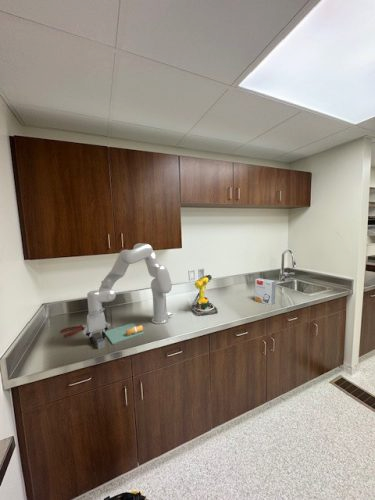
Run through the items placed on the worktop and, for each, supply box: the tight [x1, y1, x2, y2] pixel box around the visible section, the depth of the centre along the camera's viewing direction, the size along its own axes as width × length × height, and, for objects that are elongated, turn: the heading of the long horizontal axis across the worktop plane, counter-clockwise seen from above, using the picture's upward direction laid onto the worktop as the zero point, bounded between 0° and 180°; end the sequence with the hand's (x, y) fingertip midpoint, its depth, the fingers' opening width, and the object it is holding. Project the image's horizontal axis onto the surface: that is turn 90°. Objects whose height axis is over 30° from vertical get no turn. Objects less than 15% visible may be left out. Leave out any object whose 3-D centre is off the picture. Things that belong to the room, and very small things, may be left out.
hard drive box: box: [254, 277, 276, 306], centre depth 184 cm, size 16×8×20 cm, turn 42°
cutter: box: [92, 331, 106, 350], centre depth 125 cm, size 4×13×4 cm, turn 36°
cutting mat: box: [105, 322, 145, 345], centre depth 136 cm, size 20×19×5 cm
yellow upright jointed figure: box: [191, 274, 219, 316], centre depth 169 cm, size 18×19×28 cm
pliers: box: [59, 323, 87, 338], centre depth 144 cm, size 12×20×3 cm, turn 134°
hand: (97, 340), depth 127 cm, fingers open, 6 cm apart
